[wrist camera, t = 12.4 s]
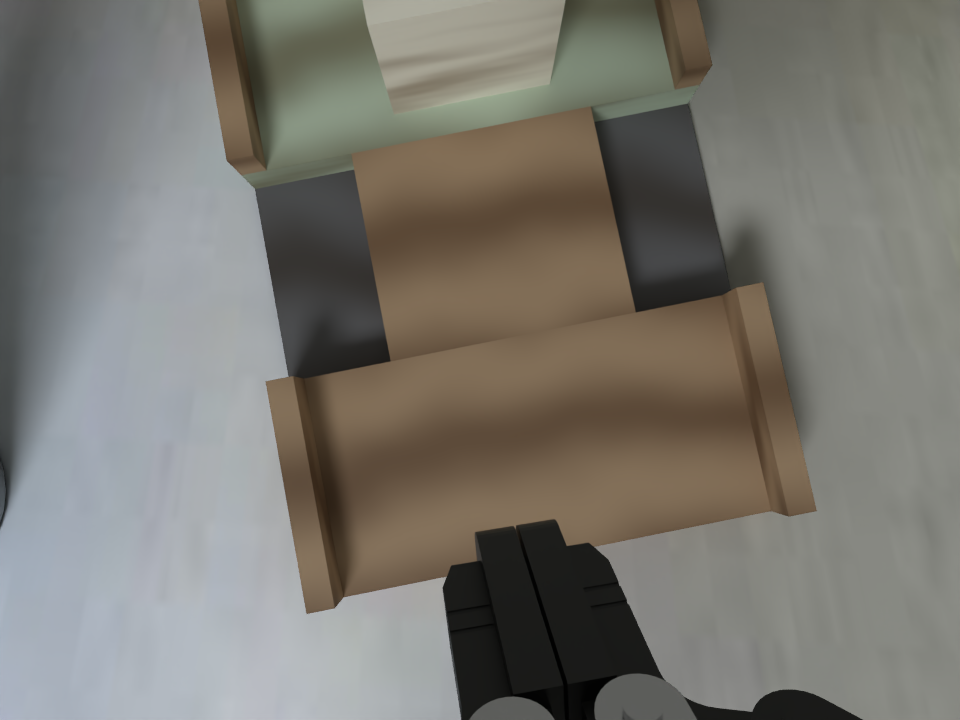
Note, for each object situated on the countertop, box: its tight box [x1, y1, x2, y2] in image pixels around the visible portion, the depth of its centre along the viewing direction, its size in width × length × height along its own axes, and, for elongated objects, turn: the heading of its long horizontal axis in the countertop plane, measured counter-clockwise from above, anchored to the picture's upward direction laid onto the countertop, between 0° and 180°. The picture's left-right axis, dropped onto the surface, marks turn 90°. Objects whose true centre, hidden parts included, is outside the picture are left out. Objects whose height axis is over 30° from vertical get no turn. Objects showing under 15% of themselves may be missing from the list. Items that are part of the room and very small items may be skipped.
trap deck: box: [199, 0, 817, 614], centre depth 35 cm, size 31×22×6 cm
